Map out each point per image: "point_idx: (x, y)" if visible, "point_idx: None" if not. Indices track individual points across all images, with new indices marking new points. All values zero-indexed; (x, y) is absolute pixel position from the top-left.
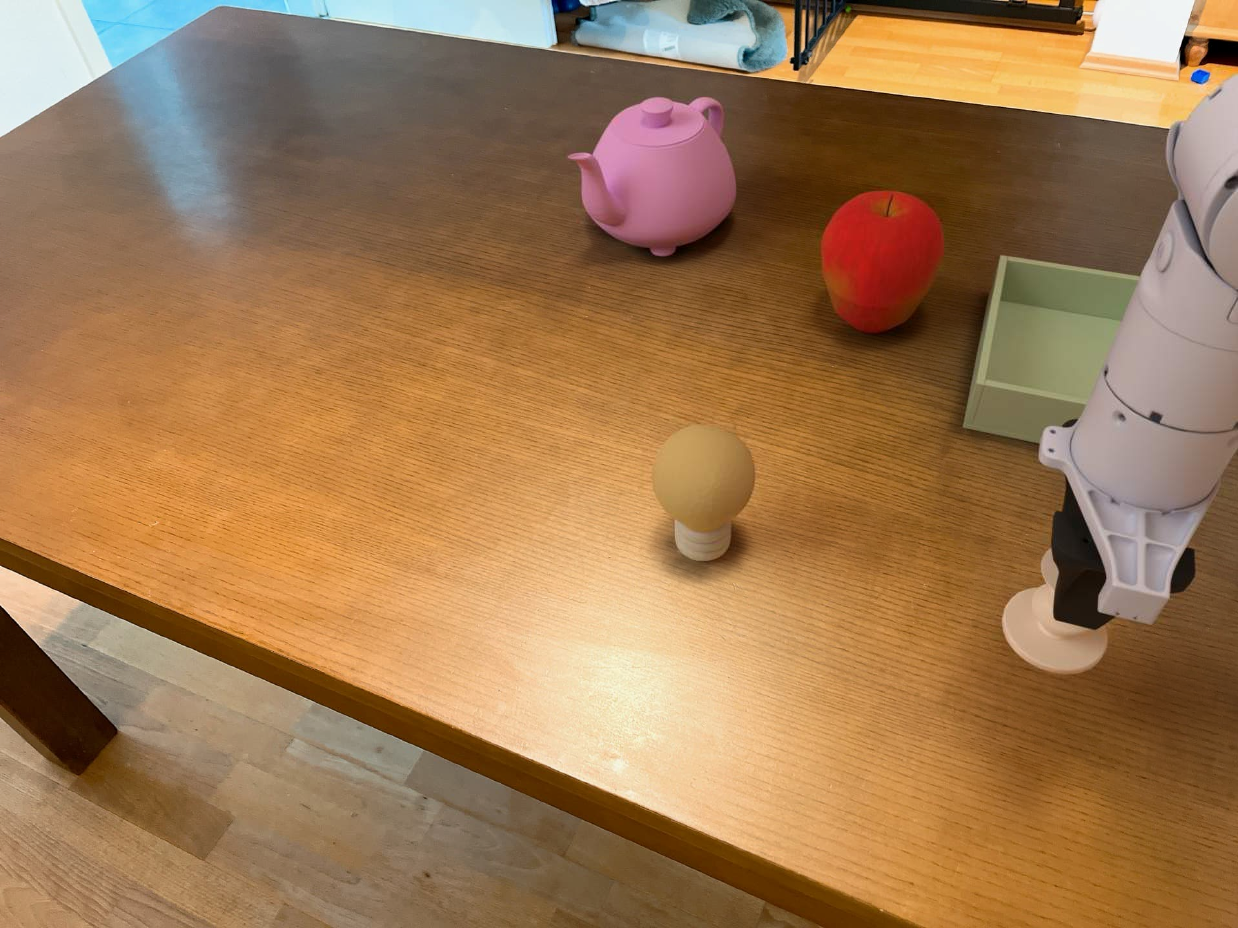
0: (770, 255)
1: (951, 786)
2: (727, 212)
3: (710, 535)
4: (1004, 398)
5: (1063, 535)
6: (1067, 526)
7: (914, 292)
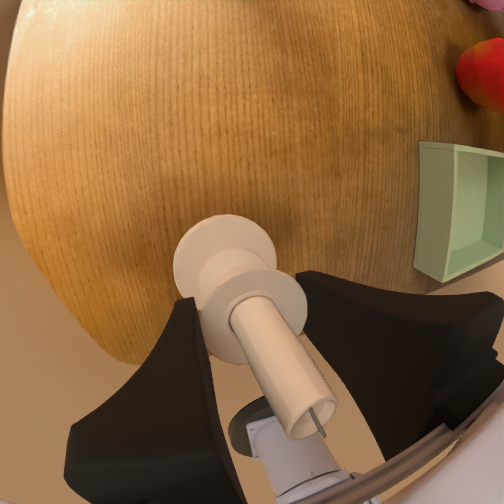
0: (470, 27)
1: (96, 211)
2: (481, 2)
3: None
4: (447, 166)
5: (120, 477)
6: (165, 479)
7: (492, 98)
